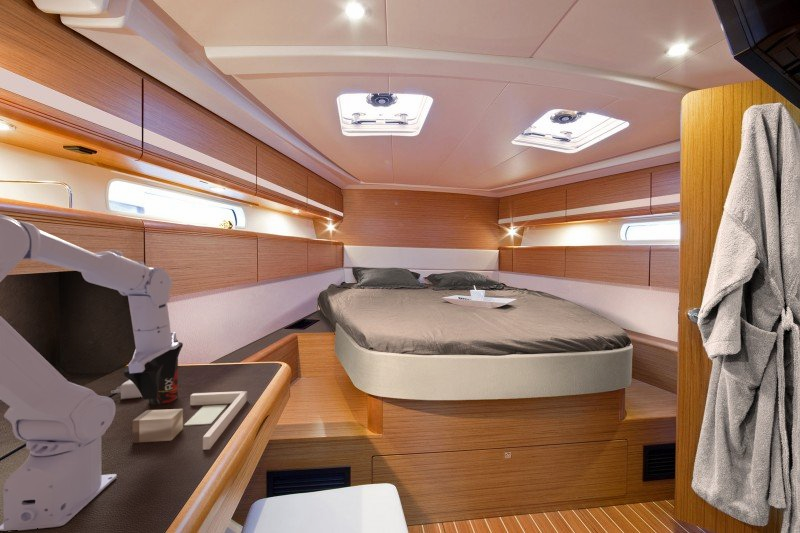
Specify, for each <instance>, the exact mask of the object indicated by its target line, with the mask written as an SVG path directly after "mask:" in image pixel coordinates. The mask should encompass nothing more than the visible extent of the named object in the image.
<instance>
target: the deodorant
mask: <svg viewBox="0 0 800 533" xmlns="http://www.w3.org/2000/svg"><path fill="white" fill-rule="evenodd" d="M175 342H179V340H178V339H177V340H176V341H175ZM175 342H174V343H175ZM150 362H151V364H153V365H158V364H157V361H156V360H155V358H154V359H152V360H151V361H150ZM178 398H179V359H178V360H177V366H176V372H175V376H174V378H166V379H163V378H162V377H161V374H160V376H159V393H158V396H157V398H154V399H148V404H149V405H153V406H159V405H165V404H168V403H171V402H173V401H175V400H177V399H178Z"/></svg>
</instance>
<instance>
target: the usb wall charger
mask: <svg viewBox="0 0 800 533" xmlns="http://www.w3.org/2000/svg"><path fill="white" fill-rule="evenodd" d="M110 391H111V392H110V393H111V394H117V393H118V394H120V399H121V400H127V399H139V398H140V397H141V398H143V397H142V395H141V393H140V391H139V390H138V388H137V387H136V385H135V384H134V383H133V382H132V381H131V380H130V379H128V380H127V381H125V382H123V383H122V384H121V385H120V386H117V387H116V389H114V390H110Z"/></svg>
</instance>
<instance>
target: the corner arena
mask: <svg viewBox="0 0 800 533" xmlns="http://www.w3.org/2000/svg"><path fill="white" fill-rule="evenodd" d="M189 400H190V402H189V404H190V406H202V407H200V408H199V410H198V411H196V413H194V414H193V415H192V416H191V417H190V418H189V420H187V422H185V423H183V427H186V426H187V427H188V426H201V425H204V426H205V425H212V423H213V422H214V421H215V420H216V419H217V418H218V417H219V418H218V419H217V420H216V421H215V423H213V425H212V426H211V427H210V428H209V429H208V431H206V433H205V434H204V435H203V437H202V450H204V451H205V450H211V448H212V447H213V445H214V444H215V443H216V442H217V440H218V439H219V438H220V437H221V435H222V434H223V433H224V431H225V430H226V429H227V428H228V426H229V425H230V423H231V422H232V421H233V419H234V418H235V417H236V416H237V414H238V413H239V411H241V409H242V408H243V407H244V406H245V404H246V403H247V401H248V390H247V391H246V390H243V391H241V390H240V391H238V390H237V391H220V392H219V391H217V392H195V393H192V394H190V399H189ZM228 404H230V405H229V406H228ZM226 408H227V409H226ZM224 410H225V411H224ZM223 411H224V412H223ZM222 412H223V413H222ZM221 413H222V414H221Z"/></svg>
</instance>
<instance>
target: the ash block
mask: <svg viewBox="0 0 800 533" xmlns="http://www.w3.org/2000/svg"><path fill="white" fill-rule="evenodd" d="M183 429H184V408H173V409H172V408H171V409H168V408H167V409H146V410H145V411H143V412H142V413H141V414H139V415H138V416H137V417H135V418H134V419H133V420H132V444H135V443H136V444H137V443H139V444H140V443H149V442H167V441H169V442H170V441H172V440H173V439H175V437H177V435H179V434H180V432H181V431H182V430H183Z"/></svg>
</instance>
